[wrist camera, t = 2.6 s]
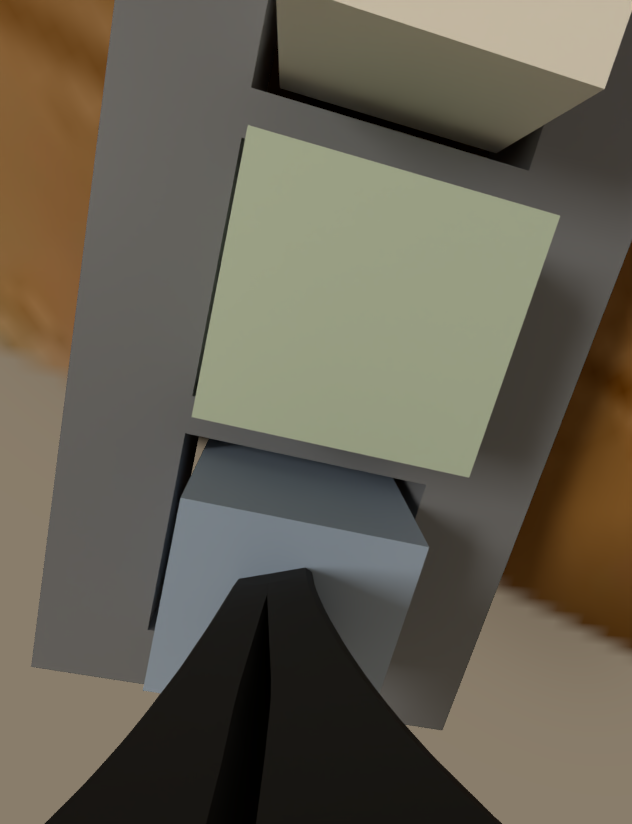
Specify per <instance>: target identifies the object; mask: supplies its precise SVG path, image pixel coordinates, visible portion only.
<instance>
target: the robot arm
mask: <svg viewBox="0 0 632 824" xmlns="http://www.w3.org/2000/svg"><path fill="white" fill-rule="evenodd" d="M45 824H502V823H501V822H500V821H499V820H497V819H496V818H495V817H494V816H493V815H492V814H491V813H490V812H489V811H488V810H487V809H486V808H485V807H484V806H483V805H482V804H481V803H480V802H479V801H478V800H477V799H476V798H475V797H474V796H473V795H472V794H471V793H470V792H469V791H468V790H467V789H466V788H465V787H464V786H463V785H462V784H461V783H460V782H459V781H458V780H457V779H455V777H454V776H453V775H452V774H451V773H450V772H449V771H448V770H447V769H446V768H444V767H443V766H442V765H441V764H440V763H439V762H438V761H437V760H436V759H435V758H434V757H433V755H432V754H431V753H430V752H429V751H428V750H427V749H426V748H425V747H424V746H423V744H422V743H421V742H420V741H419V740H418V739H417V738H416V737H415V735H414V734H413V733H412V732H411V731H410V730H409V729H408V728H407V727H406V725H405V724H404V723H403V722H402V721H401V719H400V718H399V717H398V716H397V715H396V713H395V712H394V711H393V710H392V709H391V707H390V706H389V705H388V704H387V703H386V701H385V700H384V699H383V697H382V696H381V695H380V694H379V692H378V691H377V690H376V688H375V687H374V686H373V684H372V683H371V682H370V680H369V679H368V678H367V676H366V675H365V673H364V672H363V671H362V669H361V668H360V666H359V665H358V663H357V662H356V661H355V659H354V658H353V656H352V655H351V653H350V652H349V650H348V648H347V647H346V645H345V644H344V642H343V640H342V639H341V637H340V635H339V634H338V632H337V630H336V629H335V627H334V625H333V623H332V622H331V620H330V618H329V616H328V614H327V612H326V610H325V608H324V606H323V604H322V602H321V600H320V598H319V595H318V593H317V590H316V587H315V584H314V579H313V574H312V572H311V571H310V570H308V569H307V568H299V569H293V570H287V571H282V572H276V573H270V574H264V575H258V576H252V577H246V578H240V579H238V580H237V582H236V583H235V584H234V586H233V587H232V589H231V590H230V592H229V594H228V595H227V597H226V599H225V600H224V602H223V603H222V605H221V607H220V608H219V610H218V611H217V613H216V615H215V616H214V618H213V619H212V621H211V622H210V624H209V626H208V627H207V629H206V630H205V632H204V633H203V635H202V636H201V638H200V639H199V641H198V642H197V644H196V645H195V646H194V648H193V649H192V651H191V652H190V654H189V655H188V657H187V658H186V660H185V661H184V663H183V664H182V666H181V667H180V668H179V670H178V671H177V673H176V674H175V675H174V676H173V678H172V679H171V680H170V682H169V683H168V684H167V686H166V687H165V688H164V690H163V691H162V692H161V694H160V695H159V696H158V698H157V699H156V700H155V702H154V703H153V704H152V706H151V707H150V708H149V710H148V711H147V712H146V713H145V715H144V716H143V717H142V718H141V720H140V721H139V722H138V723H137V725H136V726H135V727H134V728H133V730H132V731H131V732H130V733H129V735H128V736H127V737H126V738H125V739H124V740H123V742H122V743H121V744H120V745H119V746H118V747H117V749H115V751H114V752H113V753H112V754H111V755H110V756H109V757H108V759H107V760H106V761H105V762H104V763H103V764H102V765H101V766H100V767H99V769H98V770H97V771H96V772H95V773H94V774H93V775H92V776H91V777H90V778H89V779H88V780H87V782H86V783H85V784H84V785H83V786H82V787H81V788H80V789H79V790H78V791H77V792H76V793H75V794H74V795H73V796H72V797H71V798H70V799H69V800H68V801H67V802H66V803H65V804H64V805H63V806H62V807H61V808H60V809H59V810H58V811H57V812H56V813H55V814H54V815H53V816H52V817H51V818H50V819H49V820H48V821H47V822H46V823H45Z"/></svg>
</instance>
